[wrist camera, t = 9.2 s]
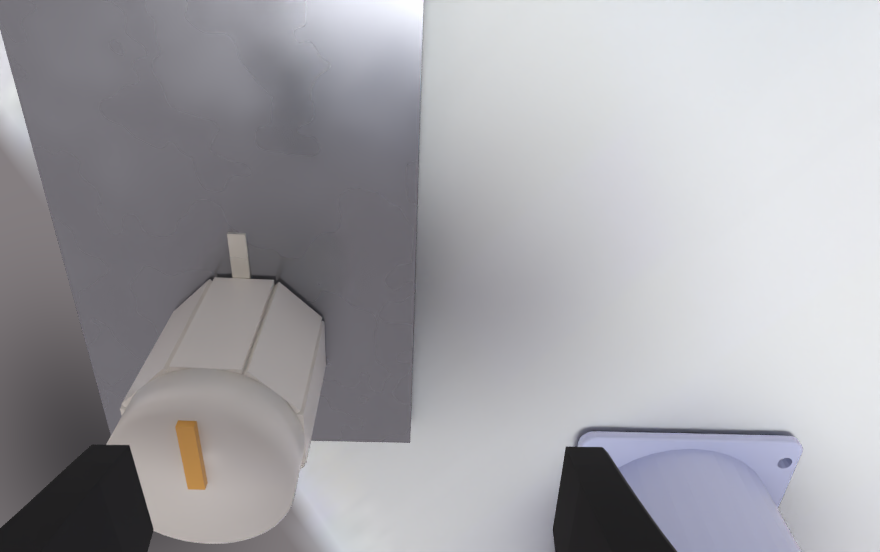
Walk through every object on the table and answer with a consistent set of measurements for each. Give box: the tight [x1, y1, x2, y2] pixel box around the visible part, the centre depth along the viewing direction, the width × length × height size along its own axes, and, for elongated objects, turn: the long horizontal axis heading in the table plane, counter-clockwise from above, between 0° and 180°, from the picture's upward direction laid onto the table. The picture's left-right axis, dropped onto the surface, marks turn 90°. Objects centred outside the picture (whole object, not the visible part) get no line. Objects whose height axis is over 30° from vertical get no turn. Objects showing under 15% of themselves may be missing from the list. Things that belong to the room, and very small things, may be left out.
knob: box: [106, 277, 326, 544], centre depth 18 cm, size 4×4×6 cm
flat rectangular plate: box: [0, 0, 424, 443], centre depth 18 cm, size 16×10×4 cm, turn 177°
